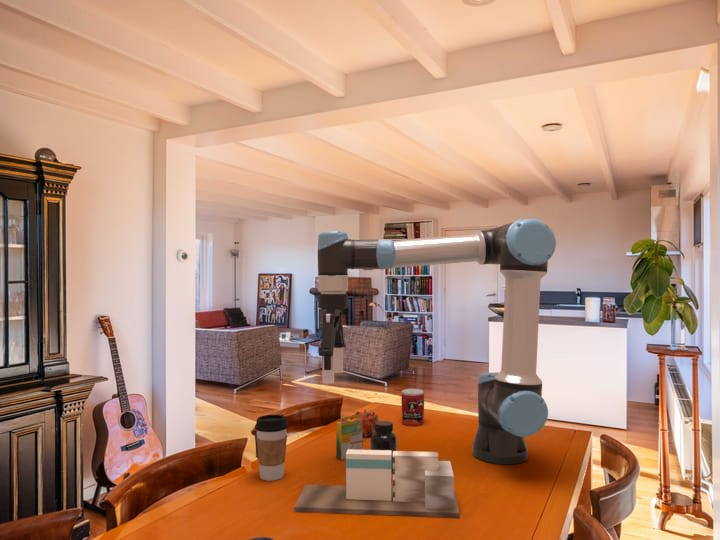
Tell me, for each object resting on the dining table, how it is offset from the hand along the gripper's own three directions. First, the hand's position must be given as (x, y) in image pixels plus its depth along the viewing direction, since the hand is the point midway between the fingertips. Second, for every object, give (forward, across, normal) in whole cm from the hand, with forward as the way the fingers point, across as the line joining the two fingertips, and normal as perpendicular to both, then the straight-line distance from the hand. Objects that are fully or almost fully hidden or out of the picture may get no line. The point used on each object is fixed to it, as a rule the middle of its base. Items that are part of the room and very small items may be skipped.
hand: (333, 377), depth 129 cm
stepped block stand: (+25, +13, +12) cm, 30 cm away
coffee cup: (+25, 0, -16) cm, 30 cm away
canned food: (+25, -51, +18) cm, 60 cm away
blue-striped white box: (+24, +13, +10) cm, 29 cm away
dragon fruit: (+25, -35, +3) cm, 43 cm away
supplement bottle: (+25, -7, +12) cm, 29 cm away
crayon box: (+25, -16, +2) cm, 30 cm away
